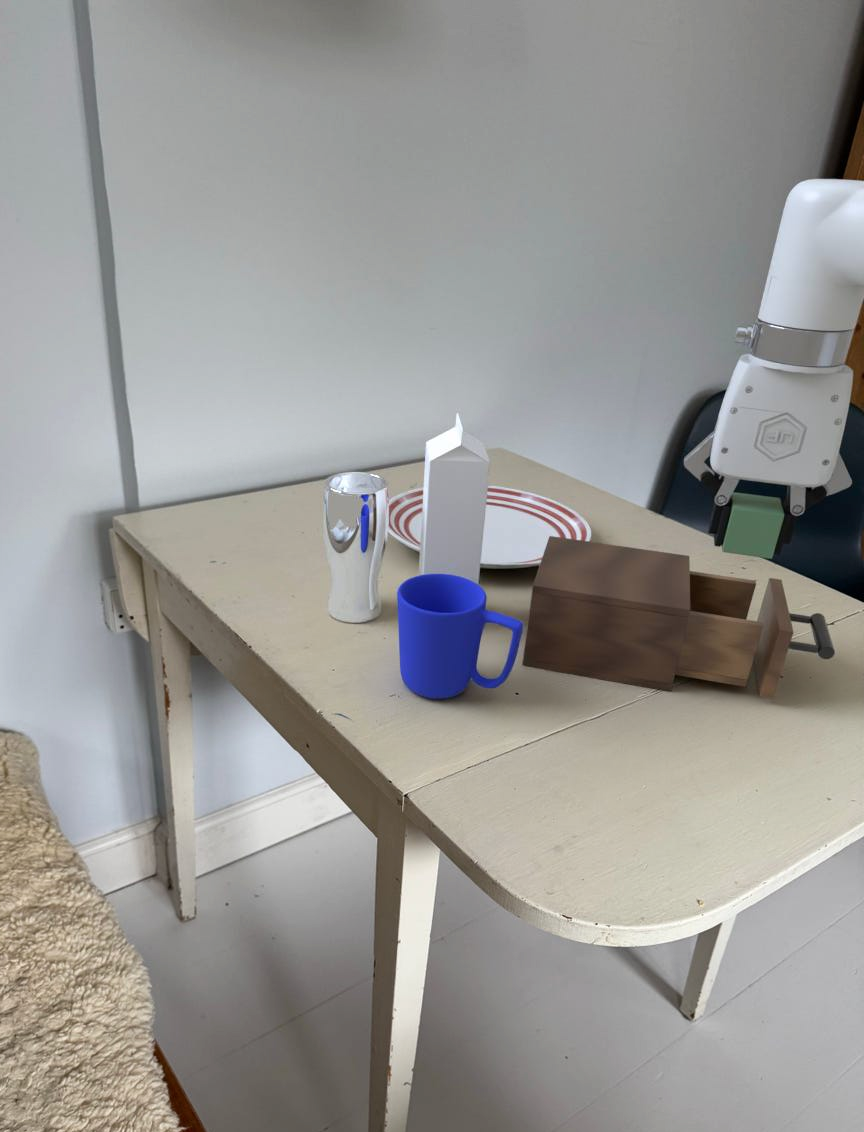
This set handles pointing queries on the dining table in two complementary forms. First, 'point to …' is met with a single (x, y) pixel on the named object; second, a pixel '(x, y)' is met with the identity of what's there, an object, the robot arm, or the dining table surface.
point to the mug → (446, 635)
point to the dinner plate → (499, 525)
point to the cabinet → (609, 612)
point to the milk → (454, 504)
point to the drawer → (742, 632)
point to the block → (753, 525)
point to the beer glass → (355, 543)
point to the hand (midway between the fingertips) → (746, 543)
